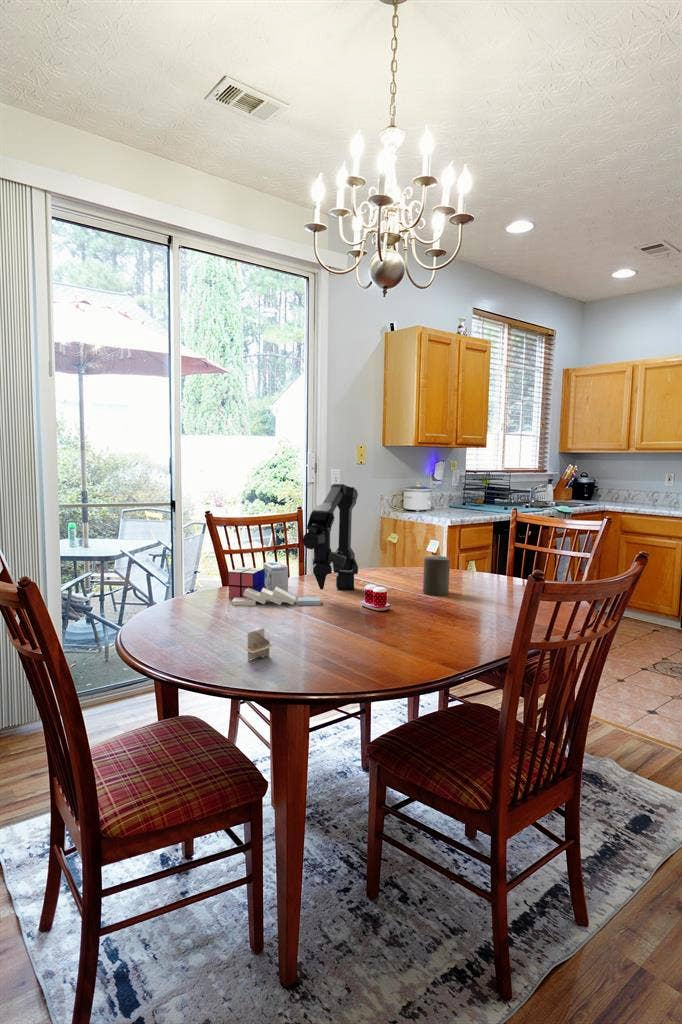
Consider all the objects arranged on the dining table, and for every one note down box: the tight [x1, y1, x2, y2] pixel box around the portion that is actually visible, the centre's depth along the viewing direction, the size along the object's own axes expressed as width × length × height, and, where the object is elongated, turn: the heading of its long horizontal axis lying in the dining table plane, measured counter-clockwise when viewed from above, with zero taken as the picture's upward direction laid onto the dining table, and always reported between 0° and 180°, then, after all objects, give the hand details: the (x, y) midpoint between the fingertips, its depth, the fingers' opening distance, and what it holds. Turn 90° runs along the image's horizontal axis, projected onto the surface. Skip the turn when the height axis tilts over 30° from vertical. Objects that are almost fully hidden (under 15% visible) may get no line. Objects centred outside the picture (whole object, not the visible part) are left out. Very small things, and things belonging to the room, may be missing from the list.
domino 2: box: [243, 587, 268, 605], centre depth 205 cm, size 2×5×8 cm
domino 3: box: [259, 588, 283, 606], centre depth 204 cm, size 2×5×8 cm
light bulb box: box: [262, 561, 289, 593], centre depth 220 cm, size 11×7×11 cm, turn 25°
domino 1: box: [231, 598, 258, 606], centre depth 204 cm, size 2×5×8 cm
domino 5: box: [297, 596, 322, 606], centre depth 205 cm, size 2×5×8 cm
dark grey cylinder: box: [422, 554, 451, 597], centre depth 222 cm, size 10×10×15 cm
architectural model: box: [244, 627, 274, 661], centre depth 147 cm, size 3×7×7 cm, turn 140°
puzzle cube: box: [228, 566, 265, 600], centre depth 213 cm, size 10×10×10 cm
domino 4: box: [272, 587, 297, 606], centre depth 204 cm, size 2×5×8 cm
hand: (321, 589), depth 205 cm, fingers closed
